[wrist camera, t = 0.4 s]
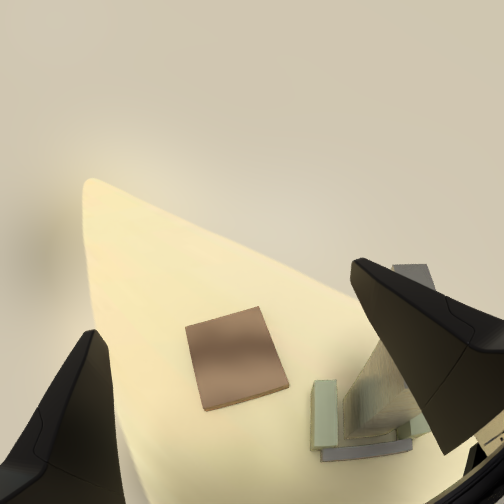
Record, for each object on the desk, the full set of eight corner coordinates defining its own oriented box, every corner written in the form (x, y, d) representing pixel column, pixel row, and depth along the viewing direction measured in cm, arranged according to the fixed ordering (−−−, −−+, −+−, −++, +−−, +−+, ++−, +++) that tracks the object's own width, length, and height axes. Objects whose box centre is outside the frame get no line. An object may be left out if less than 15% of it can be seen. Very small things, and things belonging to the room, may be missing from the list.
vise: (415, 449, 17) (431, 443, 15) (309, 462, 18) (313, 459, 16) (409, 384, 21) (422, 371, 19) (311, 392, 22) (314, 380, 20)
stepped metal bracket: (385, 434, 18) (472, 376, 9) (343, 439, 19) (404, 388, 9) (378, 364, 23) (437, 263, 13) (341, 367, 23) (380, 264, 14)
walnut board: (288, 387, 22) (289, 383, 22) (205, 411, 21) (203, 408, 21) (259, 311, 28) (258, 306, 27) (187, 332, 27) (185, 326, 26)
